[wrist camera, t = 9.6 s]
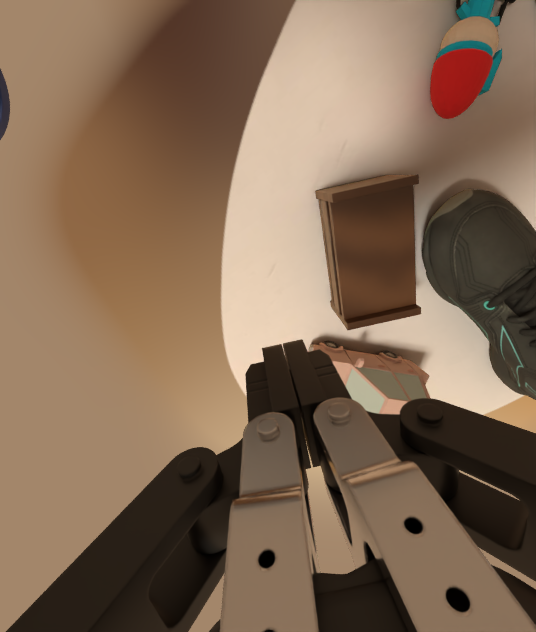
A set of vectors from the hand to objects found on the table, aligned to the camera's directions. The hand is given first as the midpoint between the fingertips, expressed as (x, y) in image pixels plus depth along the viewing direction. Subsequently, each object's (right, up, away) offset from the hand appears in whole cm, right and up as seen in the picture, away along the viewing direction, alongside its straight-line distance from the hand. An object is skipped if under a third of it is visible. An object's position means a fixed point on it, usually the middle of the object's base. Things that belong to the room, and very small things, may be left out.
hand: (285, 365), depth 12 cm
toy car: (+11, -5, +33) cm, 36 cm away
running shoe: (+28, +4, +31) cm, 42 cm away
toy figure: (+18, +29, +20) cm, 39 cm away
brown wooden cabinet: (+10, +10, +27) cm, 30 cm away
